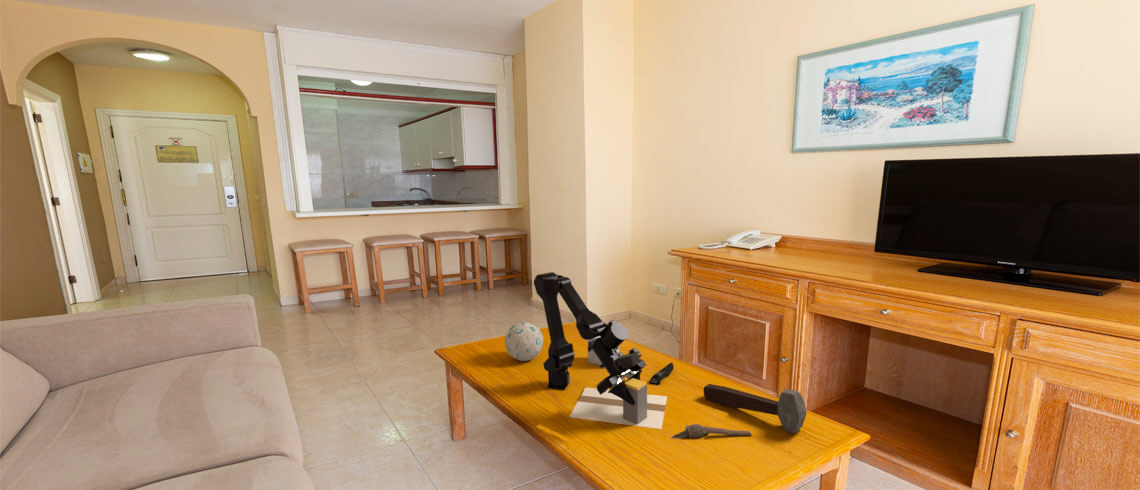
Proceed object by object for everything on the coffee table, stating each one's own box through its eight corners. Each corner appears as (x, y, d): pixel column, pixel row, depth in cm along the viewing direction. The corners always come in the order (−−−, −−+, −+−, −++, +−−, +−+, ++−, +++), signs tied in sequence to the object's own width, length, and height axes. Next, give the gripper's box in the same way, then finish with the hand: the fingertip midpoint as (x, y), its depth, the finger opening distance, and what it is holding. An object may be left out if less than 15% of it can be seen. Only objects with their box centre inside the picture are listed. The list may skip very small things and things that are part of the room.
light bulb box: (619, 362, 179) (619, 335, 177) (611, 368, 173) (611, 341, 172) (595, 357, 184) (595, 331, 183) (587, 363, 179) (586, 336, 177)
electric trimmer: (676, 371, 171) (676, 363, 170) (658, 386, 158) (659, 377, 158) (666, 369, 173) (667, 361, 172) (648, 384, 160) (648, 375, 160)
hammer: (703, 411, 148) (800, 437, 125) (700, 377, 147) (797, 396, 125) (711, 406, 151) (807, 430, 129) (708, 372, 150) (804, 390, 128)
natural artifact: (669, 442, 127) (667, 426, 129) (750, 436, 128) (747, 420, 129) (672, 441, 124) (669, 425, 125) (755, 435, 124) (752, 419, 126)
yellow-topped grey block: (623, 418, 135) (623, 383, 134) (632, 412, 139) (632, 377, 138) (637, 424, 132) (637, 388, 131) (646, 417, 136) (647, 382, 134)
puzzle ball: (523, 349, 194) (522, 315, 192) (551, 357, 185) (550, 321, 183) (497, 361, 182) (496, 324, 180) (526, 370, 173) (525, 331, 171)
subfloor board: (569, 419, 137) (569, 416, 137) (585, 389, 156) (585, 387, 156) (661, 431, 130) (661, 428, 130) (667, 398, 149) (667, 396, 149)
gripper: (604, 351, 128) (638, 400, 122) (641, 333, 142) (672, 377, 136) (583, 370, 134) (614, 418, 129) (620, 351, 148) (649, 394, 143)
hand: (639, 401), depth 134 cm, fingers closed on yellow-topped grey block, 5 cm apart
